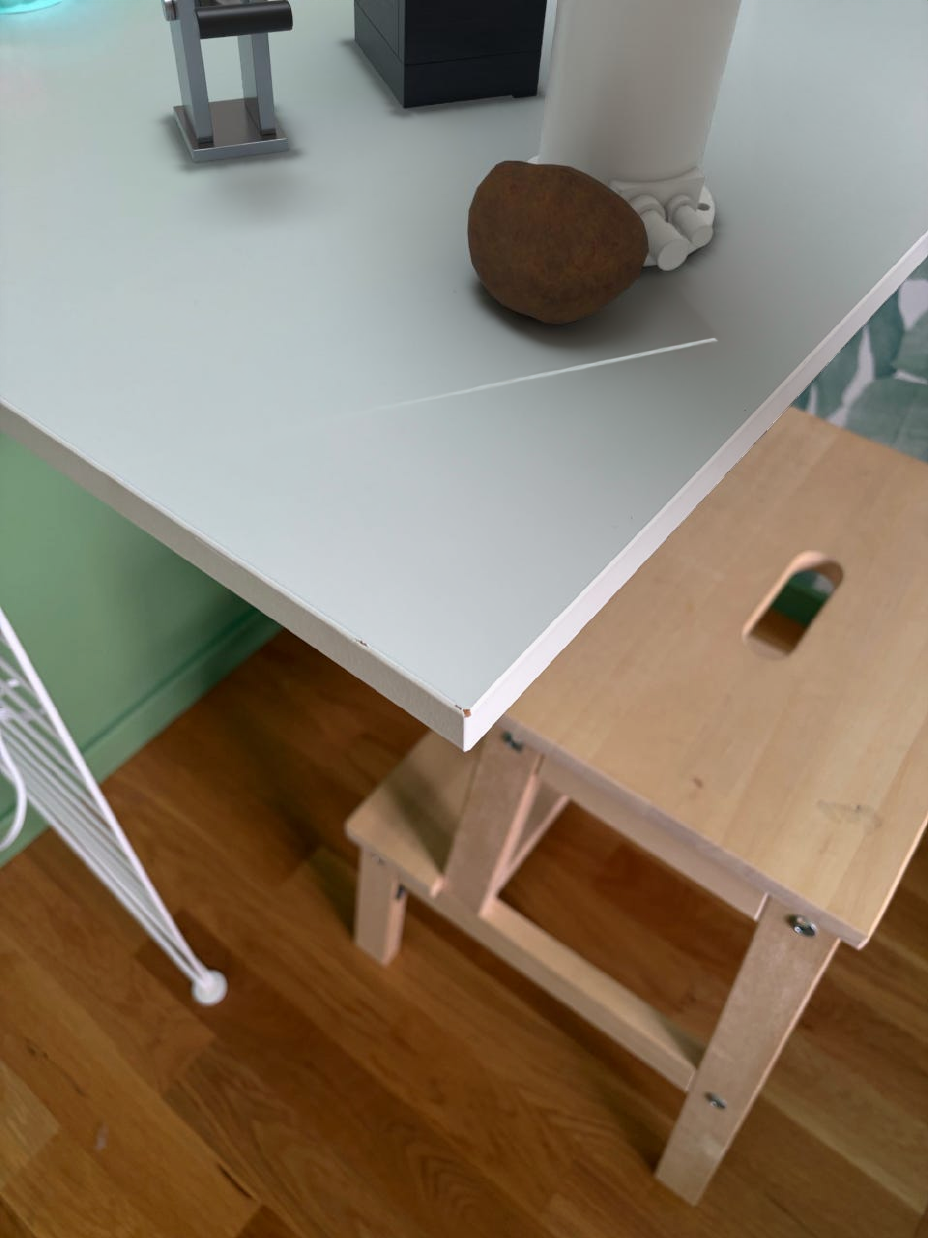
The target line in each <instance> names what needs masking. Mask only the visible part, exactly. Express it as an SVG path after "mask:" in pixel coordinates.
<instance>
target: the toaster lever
mask: <svg viewBox="0 0 928 1238" xmlns="http://www.w3.org/2000/svg"><path fill="white" fill-rule="evenodd" d="M195 4H196V8H194V9H193V17H194V24H195V29H196V32H197V35H198V37H199V39H200V40H209V39H211V40H212V39H220V38H230V37H237V36H241V35H251V34H261V33H268V34H269V33H280V32H290V31H292V30H293V28H294V19H293V18H294V17H293V11H292V7H291V4H290V2H289V0H268V1H264V2H253V3H241V2H239V1H238V0H195Z"/></svg>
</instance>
